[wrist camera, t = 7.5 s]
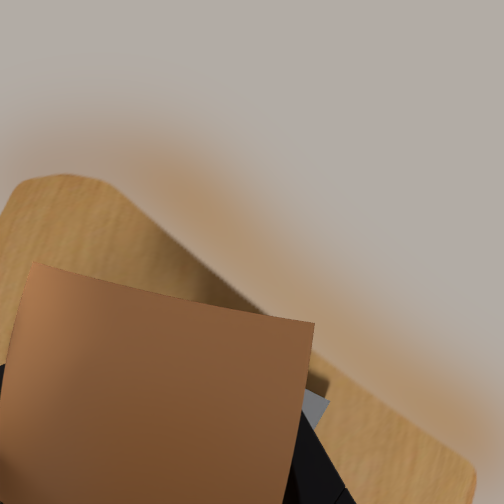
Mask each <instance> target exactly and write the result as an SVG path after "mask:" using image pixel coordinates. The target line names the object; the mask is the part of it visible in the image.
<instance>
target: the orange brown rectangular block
mask: <svg viewBox="0 0 504 504" xmlns="http://www.w3.org/2000/svg"><path fill="white" fill-rule="evenodd" d="M314 325H315V323H311V322H304V321H298V320H291V319H285V318H279V317H273V316H268V315H262V314H256V313H251V312H245V311H240V310H234V309H229V308H224V307H219V306H214V305H209V304H204V303H199V302H194V301H189V300H184V299H180V298H175V297H171V296H166V295H161V294H157V293H153V292H148V291H144V290H140V289H135V288H131V287H127V286H123V285H119V284H115V283H111V282H107V281H103V280H99V279H95V278H91V277H87V276H83V275H80V274H76V273H72V272H68V271H65V270H61V269H58V268H54V267H51V266H47V265H44V264H40V263H37V262H33V263H32V266H31V269H30V272H29V275H28V278H27V281H26V284H25V287H24V291H23V294H22V297H21V301H20V304H19V308H18V311H17V315H16V319H15V323H14V327H13V331H12V335H11V340H10V344H9V349H8V354H7V359H6V364H5V370H4V376H3V382H2V389H1V396H0V501H1V502H2V503H4V504H282V501H283V497H284V493H285V489H286V484H287V480H288V475H289V471H290V466H291V462H292V457H293V452H294V447H295V442H296V437H297V432H298V427H299V421H300V416H301V410H302V405H303V399H304V393H305V387H306V381H307V374H308V368H309V361H310V355H311V348H312V340H313V333H314Z"/></svg>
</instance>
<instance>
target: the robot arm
mask: <svg viewBox="0 0 504 504" xmlns="http://www.w3.org/2000/svg"><path fill="white" fill-rule="evenodd" d="M5 364H6V363H5ZM5 364H3V365H1V366H0V396H1V389H2V382H3V376H4V370H5ZM0 504H4V503H2V502H1V501H0ZM282 504H356V502H355V501H354V499H353V498H352V496H351V494H350V493H349V491H348V489H347V488H345V484H344V482H343V481H342V479H341V477H340V476H339V474H338V472H337V470H336V469H335V467H334V465H333V463H332V462H331V460H330V458H329V457H328V455H327V453H326V451H325V450H324V448H323V446H322V444H321V442H320V441H319V439H318V437H317V435H316V434H315V432H314V430H313V428H312V426H311V425H310V423H309V421H308V419H307V418H306V416H305V414H304V412H303V410H301V416H300V421H299V427H298V432H297V437H296V442H295V447H294V452H293V457H292V462H291V466H290V471H289V475H288V480H287V484H286V489H285V493H284V497H283V501H282Z"/></svg>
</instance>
